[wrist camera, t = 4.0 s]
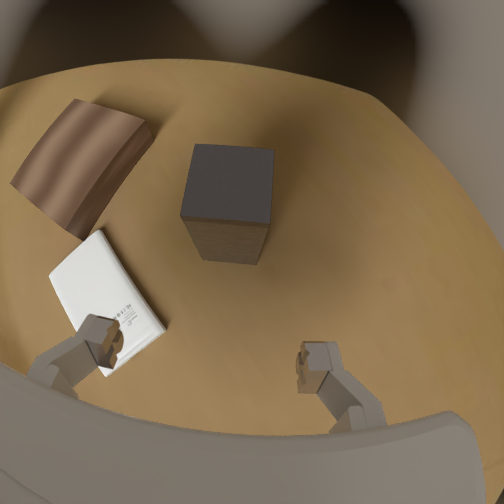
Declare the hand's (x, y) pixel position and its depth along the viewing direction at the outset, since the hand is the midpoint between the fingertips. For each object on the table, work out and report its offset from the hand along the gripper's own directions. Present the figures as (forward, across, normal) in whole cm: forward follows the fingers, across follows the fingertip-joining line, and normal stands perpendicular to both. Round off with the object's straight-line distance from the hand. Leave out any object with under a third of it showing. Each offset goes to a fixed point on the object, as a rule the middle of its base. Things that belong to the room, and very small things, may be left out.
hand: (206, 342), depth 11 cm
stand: (+21, +20, -2) cm, 29 cm away
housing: (+16, 0, +3) cm, 16 cm away
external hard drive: (+10, +12, +9) cm, 19 cm away
